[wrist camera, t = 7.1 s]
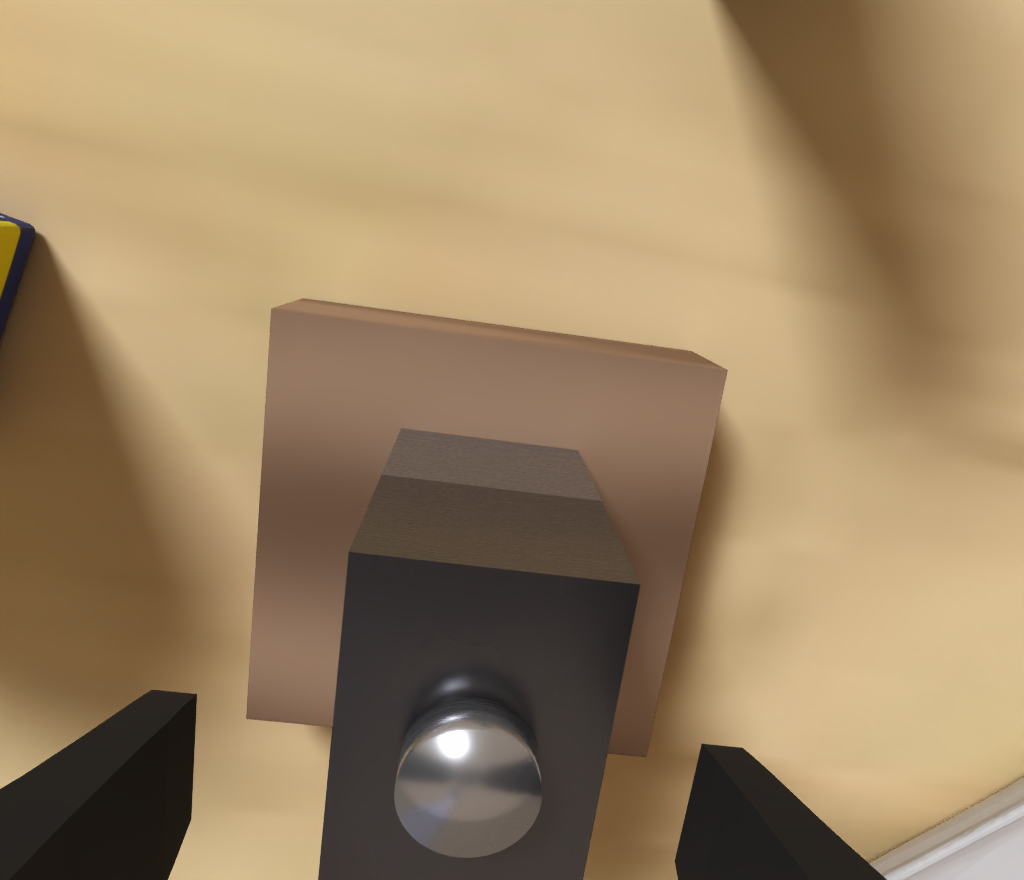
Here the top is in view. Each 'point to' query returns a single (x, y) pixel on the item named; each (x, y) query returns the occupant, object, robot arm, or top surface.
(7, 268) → the supplement box
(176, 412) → the top surface
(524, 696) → the block
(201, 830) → the top surface
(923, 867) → the salad plate
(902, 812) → the top surface
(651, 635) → the stand
